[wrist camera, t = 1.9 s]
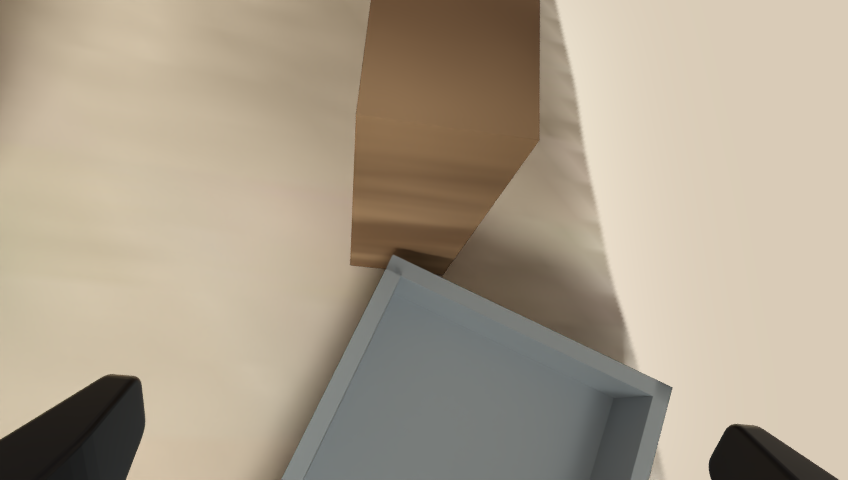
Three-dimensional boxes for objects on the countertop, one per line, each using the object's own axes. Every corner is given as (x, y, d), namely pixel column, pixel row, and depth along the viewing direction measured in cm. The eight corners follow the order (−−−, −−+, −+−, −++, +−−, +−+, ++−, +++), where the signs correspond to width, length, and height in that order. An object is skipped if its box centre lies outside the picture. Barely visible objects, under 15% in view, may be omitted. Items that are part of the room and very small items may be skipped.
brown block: (442, 275, 23) (539, 140, 11) (350, 265, 22) (355, 114, 11) (448, 190, 24) (539, -5, 13) (360, 179, 24) (375, -34, 12)
